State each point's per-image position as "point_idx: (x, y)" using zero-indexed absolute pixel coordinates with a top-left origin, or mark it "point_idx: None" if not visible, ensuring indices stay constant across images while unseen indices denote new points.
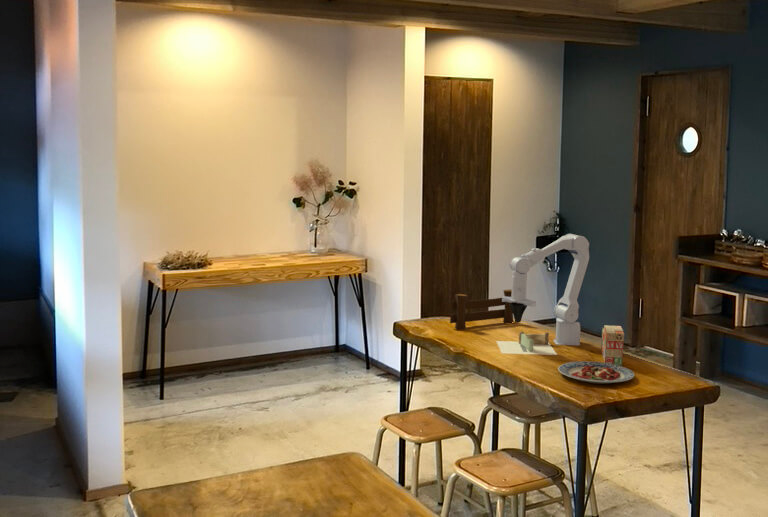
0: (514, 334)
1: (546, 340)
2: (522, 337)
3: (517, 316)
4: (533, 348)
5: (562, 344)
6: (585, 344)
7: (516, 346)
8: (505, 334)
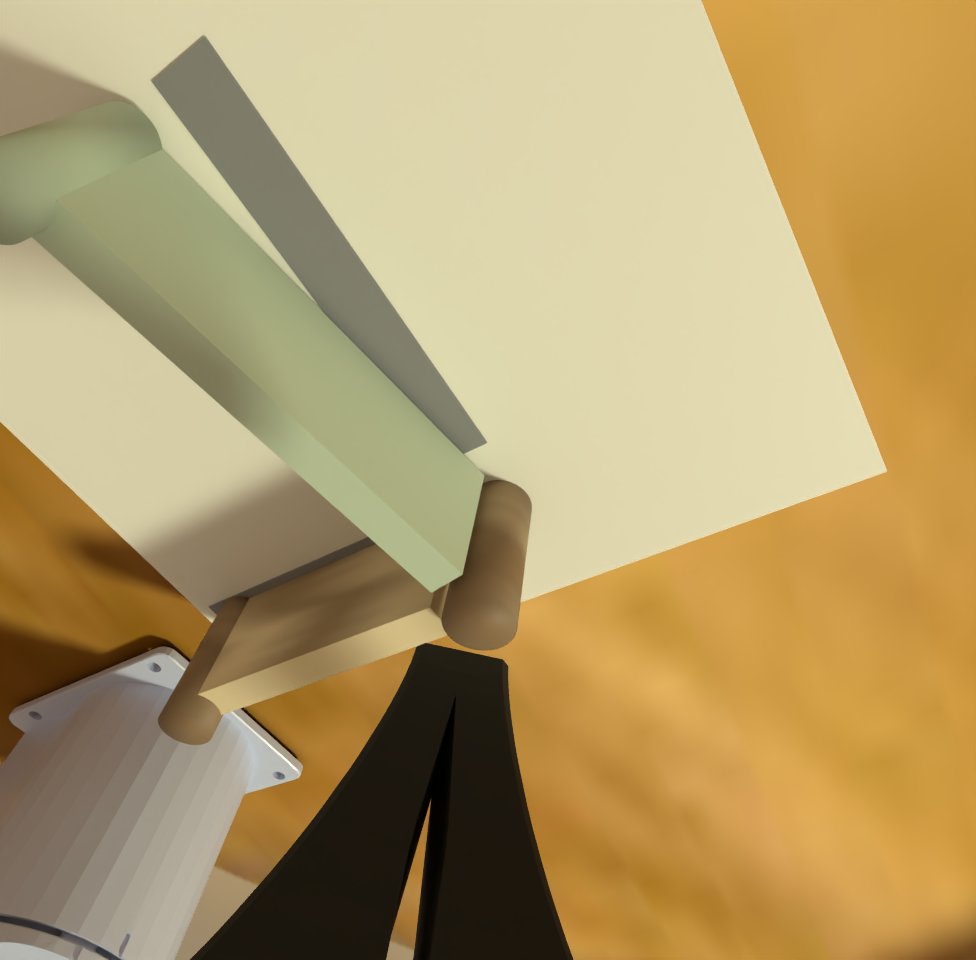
0: (746, 826)
1: (211, 635)
2: (413, 492)
3: (375, 771)
4: None
5: (118, 667)
6: None
7: (481, 325)
8: (842, 800)
